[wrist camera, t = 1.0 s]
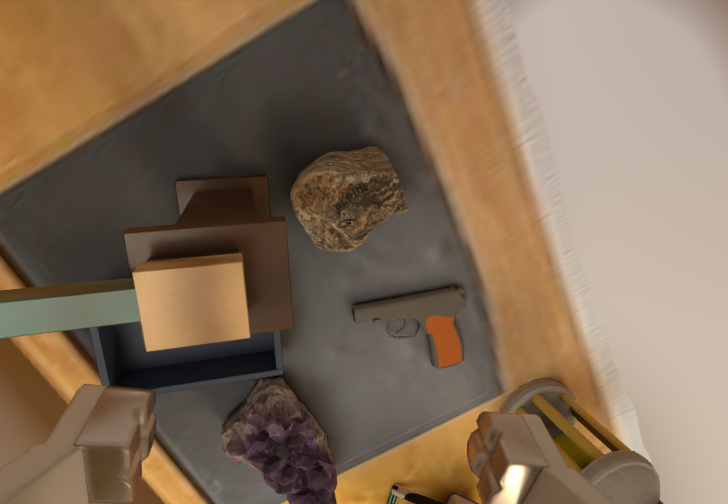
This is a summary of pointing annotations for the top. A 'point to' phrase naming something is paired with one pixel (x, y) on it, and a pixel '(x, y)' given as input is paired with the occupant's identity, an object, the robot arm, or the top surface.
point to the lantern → (587, 444)
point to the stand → (228, 241)
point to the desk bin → (182, 360)
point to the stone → (346, 197)
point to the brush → (143, 302)
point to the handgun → (423, 320)
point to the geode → (282, 444)
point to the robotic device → (423, 497)
